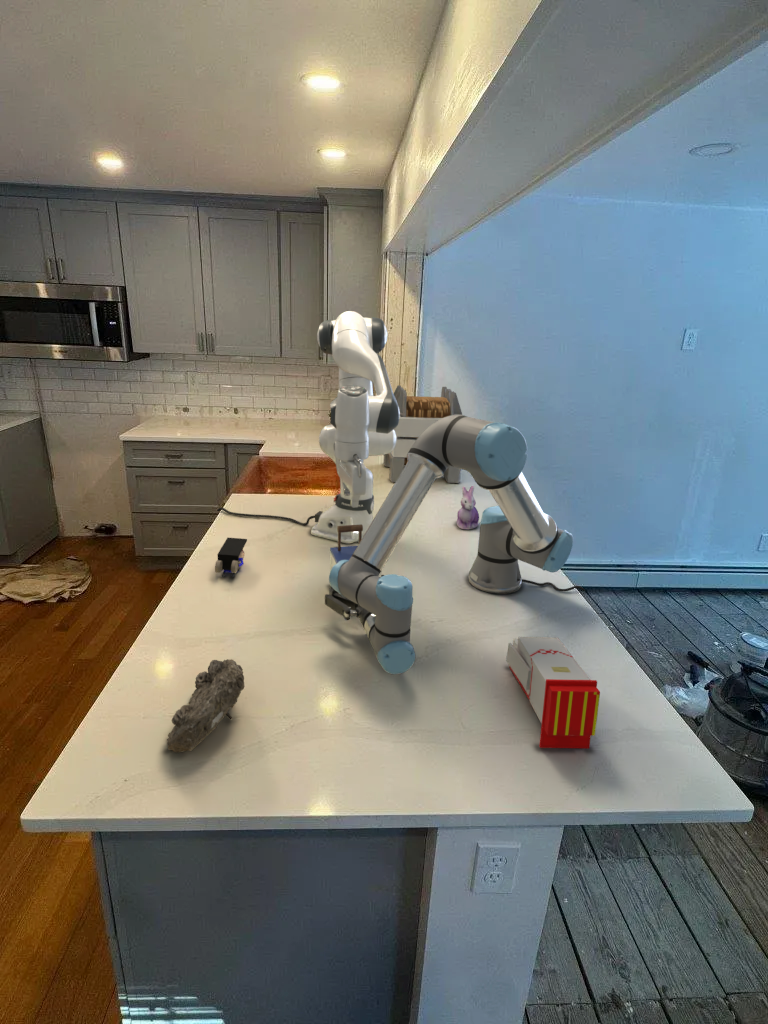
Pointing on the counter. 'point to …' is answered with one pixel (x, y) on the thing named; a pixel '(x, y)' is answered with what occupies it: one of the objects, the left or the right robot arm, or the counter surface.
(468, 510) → the figurine
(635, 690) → the counter surface
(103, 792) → the counter surface
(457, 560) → the counter surface
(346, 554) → the lid
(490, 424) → the right robot arm
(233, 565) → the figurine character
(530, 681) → the toy
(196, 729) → the fossil
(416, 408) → the transformer
